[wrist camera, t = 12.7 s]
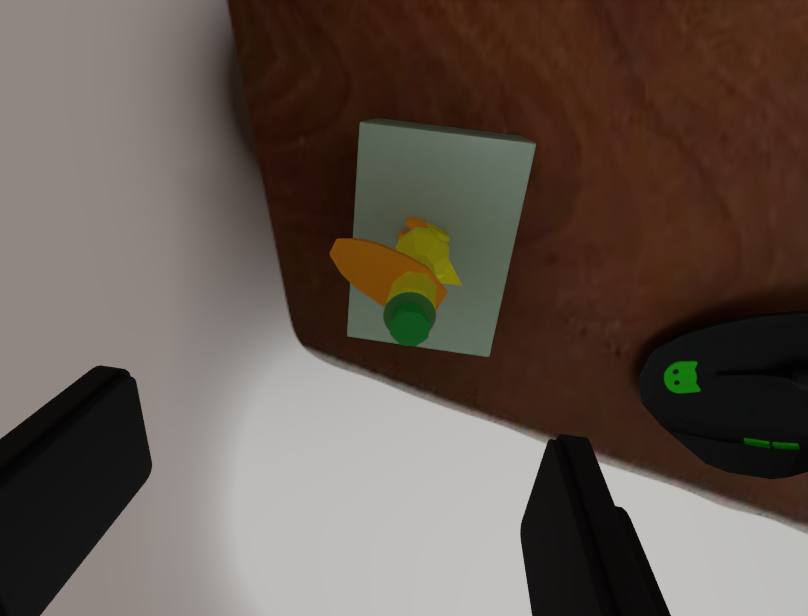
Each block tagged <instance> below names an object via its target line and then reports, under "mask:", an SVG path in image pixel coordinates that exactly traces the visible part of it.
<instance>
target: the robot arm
mask: <svg viewBox="0 0 808 616" xmlns="http://www.w3.org/2000/svg"><path fill="white" fill-rule="evenodd" d="M151 469H152V461H151V456H150V450H149V445H148V441H147V435H146V431H145V425H144V420H143V415H142V409H141V405H140V399H139V394H138V389H137V384H136V380H135V379H134V378H133V377H131V376H130V373H129V372H128V371H127V370H125V369H121V368H114V367H107V366H96V367H95V368H93V369H91V370H90V371H88V372H87V373H86V374H85V375H83V376H82V377H81V378H79V379H78V380H77V381H75V383H73V384H72V385H70V386H69V387H68V388H66V389H65V390H64V391H62V392H61V393H60V394H59V395H57V396H56V397H55V398H53V399H52V400H51V401H49V402H48V403H47V404H45V405H44V406H43V407H42V408H40V409H39V410H38V411H36V412H35V413H34V414H32V415H31V416H30V417H29V418H27V419H26V420H25V421H23V422H22V423H21V424H19V425H18V426H17V427H16V428H14V429H13V430H12V431H10V432H9V433H8V434H6V435H5V436H4V437H2V438H1V439H0V616H40V615H41V614H42V612H43V611H44V610H45V609H46V607H47V606H48V605H49V603H50V602H51V601H52V600H53V599H54V597H55V596H56V595H57V593H58V592H59V591H60V589H61V588H62V587H63V586H64V585H65V583H66V582H67V581H68V579H69V578H70V577H71V576H72V574H73V573H74V572H75V571H76V569H77V568H78V567H79V566H80V564H81V563H82V562H83V560H84V559H85V558H86V556H87V555H88V554H89V553H90V552H91V550H92V549H93V548H94V546H95V545H96V544H97V542H98V541H99V540H100V539H101V538H102V536H103V535H104V534H105V532H106V531H107V530H108V529H109V527H110V526H111V525H112V524H113V522H114V521H115V520H116V519H117V517H118V516H119V515H120V513H121V512H122V511H123V510H124V508H125V507H126V506H127V505H128V503H129V502H130V501H131V500H132V498H133V497H134V496H135V494H136V493H137V492H138V491H139V489H140V488H141V487H142V485H143V484H144V483H145V482H146V480H147V479H148V477H149V475H150V473H151ZM520 534H521V544H522V551H523V558H524V564H525V571H526V577H527V584H528V591H529V597H530V604H531V610H532V616H671V615H670V613H669V610H668V608H667V605H666V603H665V601H664V598H663V596H662V594H661V591H660V589H659V586H658V584H657V581H656V579H655V577H654V574H653V572H652V569H651V567H650V565H649V562H648V560H647V557H646V555H645V552H644V550H643V548H642V545H641V543H640V540H639V538H638V536H637V533H636V531H635V528H634V526H633V524H632V521H631V519H630V517H629V515H628V513H627V512H626V511H625V510H624V509H623V508H622V507H617V506H615V505H614V502H613V500H612V497H611V495H610V492H609V490H608V487H607V484H606V482H605V479H604V477H603V474H602V472H601V469H600V466H599V464H598V461H597V459H596V456H595V454H594V451H593V449H592V446H591V443H590V441H589V440H588V439H587V438H585V437H578V436H572V435H565V434H559V435H558V436H557V439H556V440H552V439H550V440H549V441H548V443H547V446H546V449H545V452H544V455H543V458H542V461H541V464H540V467H539V470H538V473H537V476H536V479H535V483H534V486H533V489H532V492H531V495H530V498H529V501H528V504H527V507H526V510H525V514H524V516H523V519H522V523H521V533H520Z"/></svg>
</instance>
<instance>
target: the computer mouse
mask: <svg viewBox="0 0 808 616" xmlns="http://www.w3.org/2000/svg"><path fill="white" fill-rule="evenodd" d="M638 381H639V387H640V393H641V399H642V404H643V405H644V406H645V407H646V408H647V409H648V411H649V412H650V413H651V414H652V415H653V416H654V418H655V419H656V420H657V421H658V422H659V423H660V425H661V426H662V427H664V428H665V429H666V430H667V431H668V432H669V433H670V434H672V435H673V436H674V437H675V438H676V439H678V440H679V441H680V442H681V443H682V444H683V445H685V446H686V447H687V448H688V449H689V450H691V451H692V452H693V453H694V454H695V455H697V456H698V457H699V458H700V459H701V460H702V461H704V462H705V463H706V464H709V465H711V466H714V467H716V468H719V469H721V470H724V471H726V472H730V473H736V474H742V475H748V476H754V477H761V478H768V479H776V478H786V477H791V476H794V475H798V474H801V473H805V472H808V310H800V311H789V312H779V313H768V314H757V315H750V316H744V317H739V318H734V319H730V320H725V321H721V322H717V323H712V324H709V325H706V326H702V327H699V328H696V329H692V330H689V331H686V332H684V333H682V334H680V335H678V336H676V337H675V338H673V339H671V340H669V341H667V342H665V343H663V344H661V345H660V346H658V347H656V348H655V349H654V350H653V351H652V353H651V354H650V356H649V358H648V360H647V362H646V364H645V366H644V368H643V370H642V372H641V374H640V376H639V378H638Z"/></svg>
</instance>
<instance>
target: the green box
mask: <svg viewBox="0 0 808 616" xmlns="http://www.w3.org/2000/svg"><path fill="white" fill-rule="evenodd" d="M535 148H536V144H535V143H534V142H532V141H530V140H528V139H526V138H525V137H523V136H520V135H512V134H504V133H496V132H487V131H479V130H471V129H463V128H455V127H446V126H438V125H430V124H422V123H414V122H405V121H397V120H389V119H381V118H376V119H372V120H367V121H363V122H360V126H359V143H358V160H357V176H356V193H355V210H354V227H353V238H361V239H366V240H370V241H374V242H379V243H381V244H383V245H386V246H388V247H390V248H392V249H395V250H396V246H397V243H398V241H399V240H398V239H397V236H398V234H399V232H400V231H410V229H409V228H408V226H407V225H406V221H407V220H408V218H409V217H410V216H412V217H416V218H421V219H422V220H424V221H425V222H427V223H430V224H432V225H435V226H437V227H439V228H441V229H443V230H444V231H446V232H447V233H449V236H450V241H449V242H448V243H447V244H448V245H449V256H448V259H449V261H450V263H451V265H452V266H453V268H454V270H455V272H456V274H457V276H458V278H459V280H460V282H461V284H462V286H461V285H452V284H442V283H441V284H442V285H443V286H444V287H445V289H446V290H447V291H448V294H447V295H446V297H445V298H444V300H443V301H442V303H441V304H440V306H439V307H438V309H437V310H436V320H435V324H434V325H433V327H432V329H431V330H430V331H429V336H428V339H426V340H425V341H423V342H422V343H420V344H419V345H417V347H424V348H431V349H437V350H444V351H451V352H458V353H464V354H471V355H478V356H485V357H489V355H490V351H491V346H492V341H493V337H494V332H495V328H496V323H497V319H498V314H499V310H500V305H501V301H502V296H503V292H504V287H505V283H506V278H507V274H508V269H509V265H510V260H511V256H512V251H513V247H514V242H515V238H516V233H517V229H518V224H519V220H520V215H521V211H522V206H523V202H524V197H525V193H526V188H527V184H528V179H529V175H530V170H531V166H532V161H533V157H534V152H535ZM384 308H385V307H384V306H382V305H380V304H378V303H377V302H375V301H374V300H373V299H371V298H370V297H368V296H367V295H365V294H364V293H363V292H361V291H360V290H358V289H357V288H356V287H354V286H353V285H352V284H351V283H350V294H349V311H348V328H347V336H350V337H356V338H363V339H370V340H377V341H383V342H390V343H397V344H399V343H398V342H397V341H396V340H395V339H394V338H393V337H392V336H391V335H390V331H389V330H388V329H387V327H386V326H385V323H384V320H383V312H384Z"/></svg>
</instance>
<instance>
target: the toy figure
mask: <svg viewBox="0 0 808 616" xmlns="http://www.w3.org/2000/svg"><path fill="white" fill-rule="evenodd" d="M406 225H407V226H408V228H409V229H410V231H400V232H399V234H398V236H397V239H398V240H399V241H398V243H397V246H396V250H395V249H392V248H390V247H388V246H386V245H383V244H381V243H379V242H374V241H370V240H366V239H361V238H340V239H336V241H335V243H334V245H333V247H332V249H331V251H330V253H329V254H330V256H331V258H332V259H333V261H334V263H335V264H336V266H337V268H338V269H339V271H340V273H341V274H342V275H343V276H344V277H345V278H346V279H347V280H348V281H349V282H350V283H351V284H352V285H353V286H354V287H356V288H357V289H358V290H360V291H361V292H363V293H364V294H365V295H367V296H368V297H370V298H371V299H373V300H374V301H375V302H377V303H378V304H380V305H382V306H384V307H385V308H384V312H383V320H384V323H385V326H386V327H387V329H388V330H389V331H390V335H391V336H392V337H393V338H394V339H395V340H396V341H397V342H398V343H399V344H400V345H406V346H417V345H419V344H420V343H422V342H423V341H425V340H426V339H428V336H429V331H430V330H431V329H432V327H433V325H434V324H435V320H436V310H437V309H438V307H439V306H440V304H441V303H442V301H443V300H444V298H445V297H446V295H447V294H448V291H447V290H446V289H445V287H444V286H443V285H442V284H452V285H461V286H462V284H461V282H460V280H459V278H458V276H457V274H456V272H455V270H454V268H453V266H452V265H451V263H450V261H449V259H448V256H449V245H448V244H447V243H448V242H449V241H450V236H449V233H447V232H446V231H444V230H443V229H441V228H439V227H437V226H435V225H432V224H430V223H427V222H425V221H424V220H422V219H421V218H416V217H412V216H410V217H409V218H408V220H407V221H406ZM441 283H442V284H441Z"/></svg>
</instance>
